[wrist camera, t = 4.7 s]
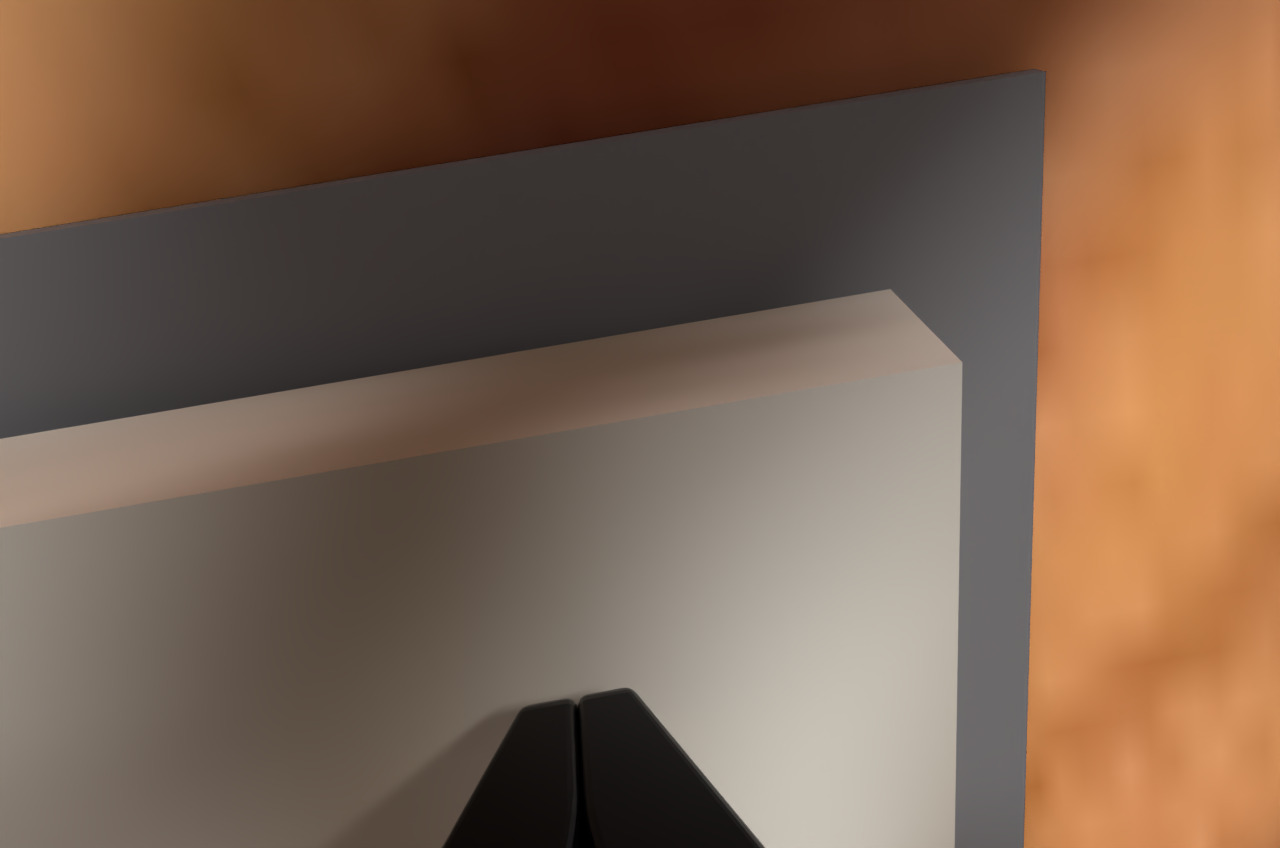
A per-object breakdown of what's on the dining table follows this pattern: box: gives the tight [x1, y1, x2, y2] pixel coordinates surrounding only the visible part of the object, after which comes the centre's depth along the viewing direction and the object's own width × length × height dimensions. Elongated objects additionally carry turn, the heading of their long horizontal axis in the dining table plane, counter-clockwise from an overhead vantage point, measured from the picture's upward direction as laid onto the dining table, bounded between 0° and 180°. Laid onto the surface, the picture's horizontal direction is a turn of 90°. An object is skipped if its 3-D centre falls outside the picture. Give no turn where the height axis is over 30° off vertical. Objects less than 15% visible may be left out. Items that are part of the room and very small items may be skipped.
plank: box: [0, 289, 962, 848], centre depth 10 cm, size 8×9×2 cm
